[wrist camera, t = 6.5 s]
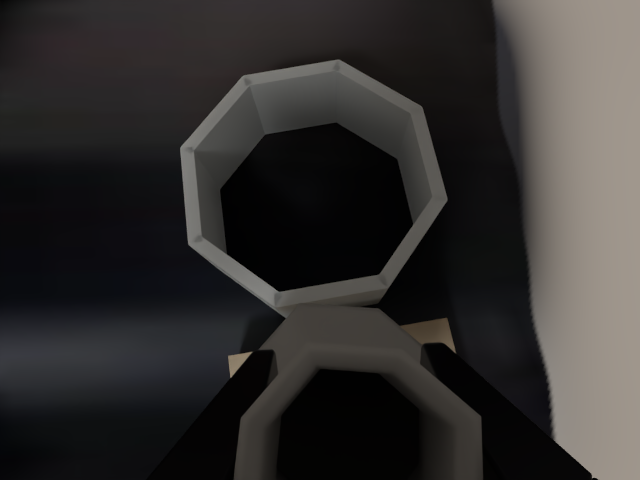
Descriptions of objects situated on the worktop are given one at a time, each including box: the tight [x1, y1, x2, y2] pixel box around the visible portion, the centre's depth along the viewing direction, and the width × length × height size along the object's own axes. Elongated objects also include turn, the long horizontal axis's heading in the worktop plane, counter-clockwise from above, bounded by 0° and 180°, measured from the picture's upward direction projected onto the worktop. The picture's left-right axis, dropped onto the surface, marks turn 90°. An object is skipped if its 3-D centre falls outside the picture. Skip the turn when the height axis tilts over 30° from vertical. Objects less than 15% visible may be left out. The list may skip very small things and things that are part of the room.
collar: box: [180, 60, 447, 318], centre depth 21 cm, size 11×11×4 cm
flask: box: [233, 303, 483, 480], centre depth 10 cm, size 7×7×10 cm
